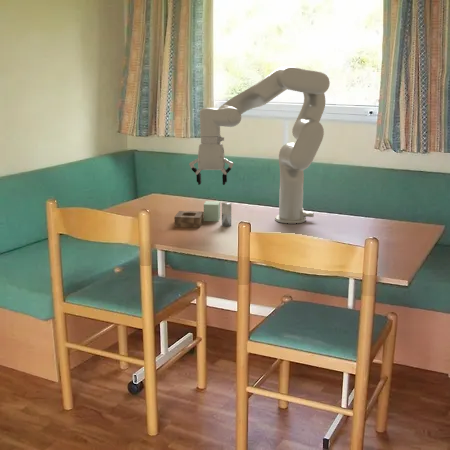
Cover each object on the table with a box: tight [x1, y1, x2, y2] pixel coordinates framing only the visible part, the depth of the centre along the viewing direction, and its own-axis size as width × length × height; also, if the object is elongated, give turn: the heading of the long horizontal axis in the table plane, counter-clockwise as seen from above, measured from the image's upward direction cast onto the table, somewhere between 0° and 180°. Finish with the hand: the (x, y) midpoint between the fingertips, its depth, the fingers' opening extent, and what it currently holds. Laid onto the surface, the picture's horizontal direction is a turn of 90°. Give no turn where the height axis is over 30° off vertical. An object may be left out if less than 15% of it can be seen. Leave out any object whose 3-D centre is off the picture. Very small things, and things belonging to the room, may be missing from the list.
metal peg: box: [221, 201, 232, 228], centre depth 250 cm, size 4×4×9 cm
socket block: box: [174, 210, 205, 229], centre depth 253 cm, size 10×10×4 cm
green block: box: [203, 200, 221, 222], centre depth 260 cm, size 6×6×7 cm
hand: (211, 184), depth 248 cm, fingers open, 9 cm apart
